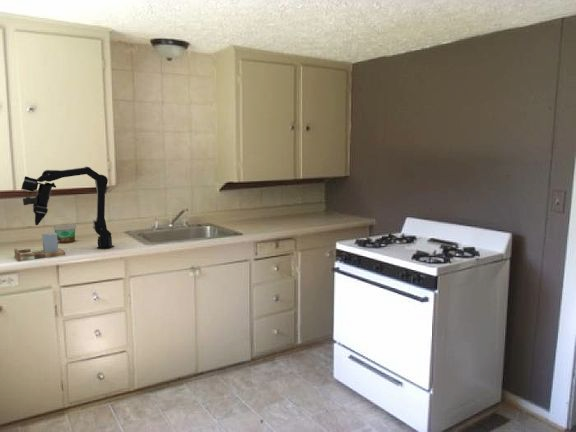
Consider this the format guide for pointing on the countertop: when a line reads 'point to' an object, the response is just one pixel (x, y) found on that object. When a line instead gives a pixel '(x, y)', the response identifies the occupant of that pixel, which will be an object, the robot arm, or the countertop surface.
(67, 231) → the food container
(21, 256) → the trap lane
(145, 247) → the countertop surface
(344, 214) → the countertop surface
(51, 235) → the blue-grey block
